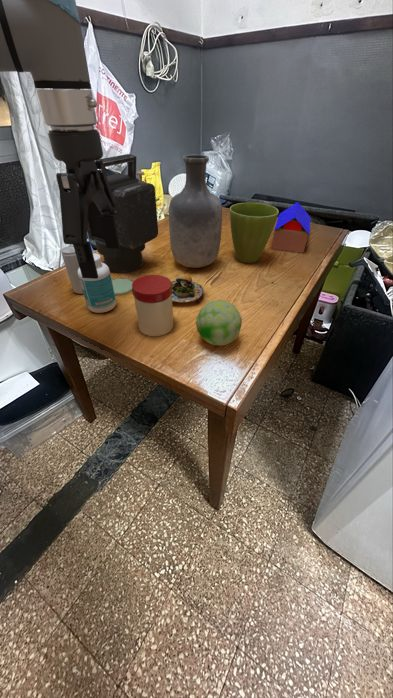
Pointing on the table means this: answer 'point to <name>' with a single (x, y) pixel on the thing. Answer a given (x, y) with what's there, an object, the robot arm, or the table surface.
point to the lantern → (126, 217)
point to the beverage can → (72, 268)
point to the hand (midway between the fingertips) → (102, 261)
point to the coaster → (122, 286)
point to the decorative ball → (218, 322)
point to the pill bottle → (98, 288)
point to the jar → (155, 317)
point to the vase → (195, 217)
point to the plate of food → (186, 289)
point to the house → (292, 229)
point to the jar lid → (152, 288)
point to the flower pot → (251, 229)
